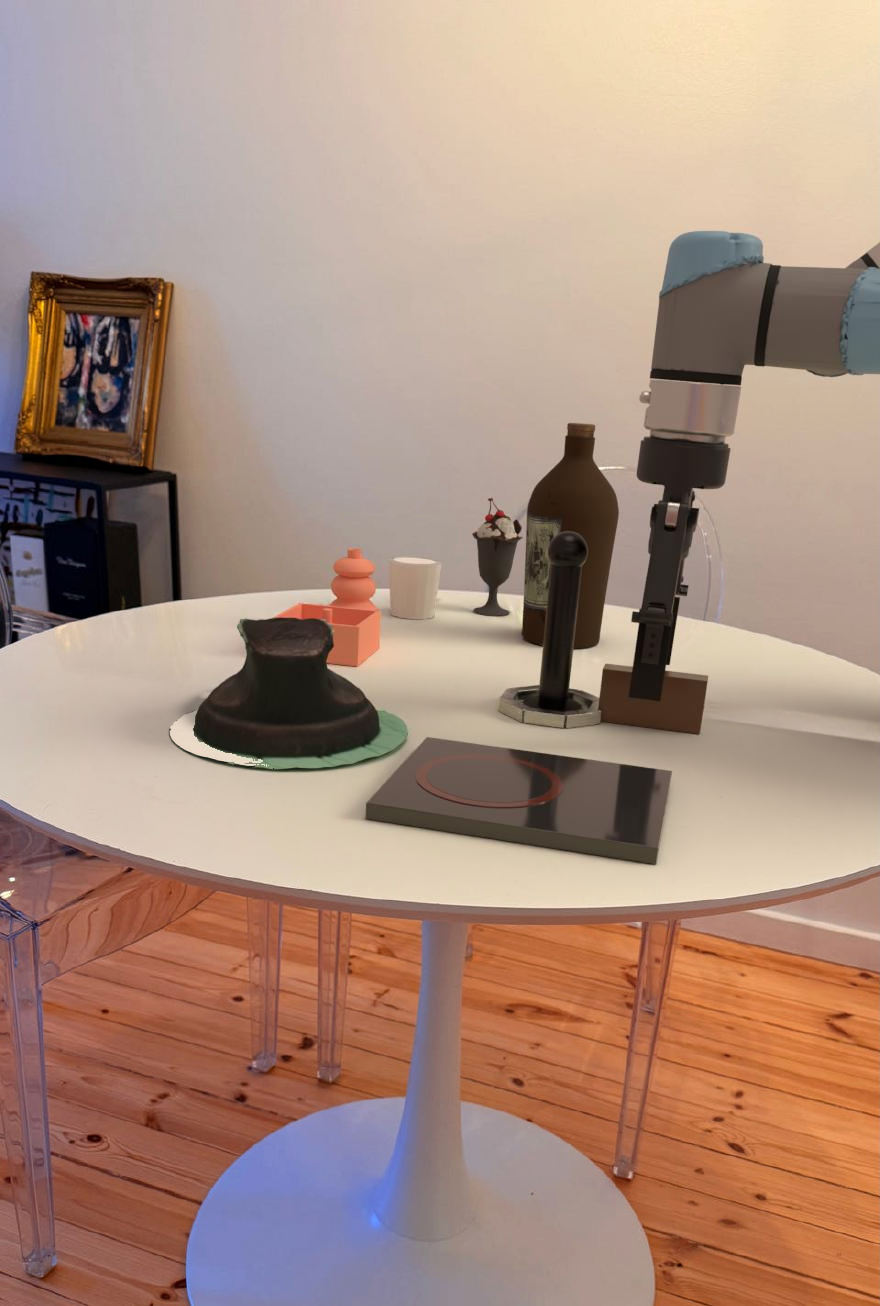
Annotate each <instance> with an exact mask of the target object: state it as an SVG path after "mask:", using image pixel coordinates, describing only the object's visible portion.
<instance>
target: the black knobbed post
mask: <svg viewBox="0 0 880 1306" xmlns="http://www.w3.org/2000/svg"><path fill="white" fill-rule="evenodd" d="M587 556H588V547H587V544H586V542H585V540H584V538H583V537H582V536H580V535H579V534H578V533H575V532H572V531H565V532H561V533H559V534H557V535H556V536H555V537H554V538H553V539H552V540H551V542H550V544H549V546H548V558H549V561H550V563H551V568H550V579H549V589H548V600H547V610H546V621H545V631H544V642H543V645H542V654H541V663H540V674H539V684H538V685H539V694H538V696H533V697H528V698H526V699H524V700H523V702H522V704H524V705H526V706H528V707H530V708H537V709H544V710H552V711H560V712H566V711H574V710H583V708H582V705H581V704H580V703H578V702H576V701H574V700H571V699H568V694H569V689H570V685H571V684H570V683H571V674H572V667H573V666H572V665H573V664H572V663H573V656H574V655H573V654H574V648H573V647H574V637H575V628H576V618H577V609H578V599H579V590H580V581H581V571H582V565H583V564H584V563H585V561H586V559H587Z"/></svg>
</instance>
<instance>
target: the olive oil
mask: <svg viewBox="0 0 880 1306" xmlns="http://www.w3.org/2000/svg"><path fill="white" fill-rule="evenodd" d="M566 429H567V433H566V435H565V436H564V451H563V457H562V458H561V459H560V460H559V462H558V463H557V464H556V465H554V467H553V468H552V469H550V471H548V472H547V473H546V475H544V476H543V478H541V480H539V481H538V483H536V485H535V486H534V488H533V490H532V492H531V494H530V497H529V499H528V504H527V509H526V525H525V526H526V530H525V531H526V532H525V558H524V559H525V560H524V580H523V581H524V583H523V585H524V586H523V606H522V607H523V608H522V621H521V622H522V623H521V638H522V639H523V640H525V641H527V642H529V643H531V644H535V645H539V646H543V642H544V631H545V621H546V610H547V600H548V589H549V579H550V568H551V563H550V561H549V558H548V546H549V544H550V542H551V540H552V539H553V538H554V537H555V536H556V535H557V534H559V533H561V532H565V531H572V532H575V533H578V534H579V535H580V536H582V537H583V538H584V540H585V542H586V544H587V547H588V556H587V559H586V561H585V563H584V564H583V565H582V571H581V581H580V590H579V599H578V609H577V618H576V628H575V637H574V647H573V649H586V648H592V647H595V646H597V645H598V644H599V643H600V639H601V632H602V631H601V630H602V625H603V616H604V608H605V602H606V596H607V591H608V590H607V589H608V583H609V578H610V577H609V576H610V572H611V571H610V570H611V564H612V558H613V553H614V546H615V540H616V535H617V529H618V523H619V516H620V515H619V514H620V510H619V503H618V502H619V501H618V497H617V493H616V492H615V489H614V488H613V486H612V485H611V483H610V481H608V479H607V478H606V476H605V475H604V474H603V472H602V471H601V469H600V468H599V467H598V465H597V464H596V462H595V460H594V450H595V443H596V437H594V436H595V431H596V425H595V424H593V423H582V422H581V423H580V422H568V423H567V427H566Z"/></svg>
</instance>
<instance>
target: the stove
mask: <svg viewBox="0 0 880 1306" xmlns="http://www.w3.org/2000/svg"><path fill="white" fill-rule="evenodd" d="M672 774H673V770H668V769H661V768H654V767H648V766H647V767H646V766H639V765H633V764H624V763H618V762H612V761H611V762H610V761H603V760H596V759H595V760H594V759H589V758H582V757H575V756H568V755H567V756H566V755H560V754H552V753H545V752H538V751H532V750H530V751H529V750H524V749H516V748H509V747H501V746H495V745H488V744H480V743H472V742H467V741H466V742H465V741H458V740H452V739H444V738H436V737H431V736H430V737H429V736H426V737H425V738H424V739H423V740H422V741H421V743H420V744H419V745H418V746H417V747H416V748H415V749H414V750H413V752H411V754H409V756H408V757H407V758H406V759H405V760H404V761H403V762H402V763H401V764H400V766H399V767H398V768H397V769H396V770H395V771H394V772H393V773H392V774H391V775H390V776H389V777H388V779H387V780H386V781H385V782H384V783H383V784H382V785H381V786H380V787H379V788H378V789H377V791H376V792H375V793H374V794H373V795H372V796H371V797H370V798H369V799H368V800H367V802H366V803H365V819H366V820H371V821H377V822H378V821H379V822H384V823H392V824H398V825H403V826H410V827H415V828H416V827H417V828H422V829H428V830H436V831H441V832H446V833H447V832H449V833H453V834H459V835H460V834H461V835H468V836H473V837H480V838H486V839H493V840H498V841H499V840H500V841H505V842H511V843H518V844H524V845H531V846H536V847H543V848H549V849H556V850H561V851H569V852H575V853H580V854H587V855H588V854H589V855H594V856H600V857H607V858H613V859H619V860H625V861H633V862H638V863H645V864H651V865H657V862H658V857H659V851H660V847H661V846H660V845H661V840H662V835H663V828H664V823H665V817H666V811H667V806H668V800H669V795H670V788H671V783H672Z"/></svg>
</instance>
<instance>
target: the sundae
mask: <svg viewBox="0 0 880 1306" xmlns="http://www.w3.org/2000/svg"><path fill="white" fill-rule="evenodd" d="M487 501H488V502H489V505H490V506H489V510H488V513H487V514H486V515H485V517H484V520H485V522H483V523H481V525H480V526H479V527H478V529H477V531H476V530H475V531H474V532H472V534H471V535H472V537H473V539H475V540H476V545H477V563H478V564H477V565H478V572H479V576H480V578H481V580H482V581H483V582H484V583H485V584H486V585H487V586H488V596H487V600H486V602H485V603H484V604H483V606H479V607H475V608H473V610H472V611H473V613H475V614H478V615H481V616H487V617H489V616H490V617H504V616H509V615H510V614H511V611H510V610H508V609H506V608H504V607H501V605H500V604H499V601H498V589H499V587H500V586H502V585H503V584H505V582H506V581H507V580H508V579H509V578H510V576H511V572H512V568H513V563H514V558H515V554H516V550H517V545H518V543H519V541H521V540H522V539H523V538H524V537H523V536H520V535H519V534H520V533H521V532H522V529H523V527H522V525H521V523H520V522H519V520H518V519H517V518H516V519H514V521H512V518H511V517H510V516H507V515H506V514H505V512H504V510H501V509H499V508H498V507H497V505H496V504H495V502H494V498H493V497H489V498H487ZM492 504H493V506H494V508H496V510H497V511H495V513H494V514H491V510H492Z"/></svg>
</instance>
